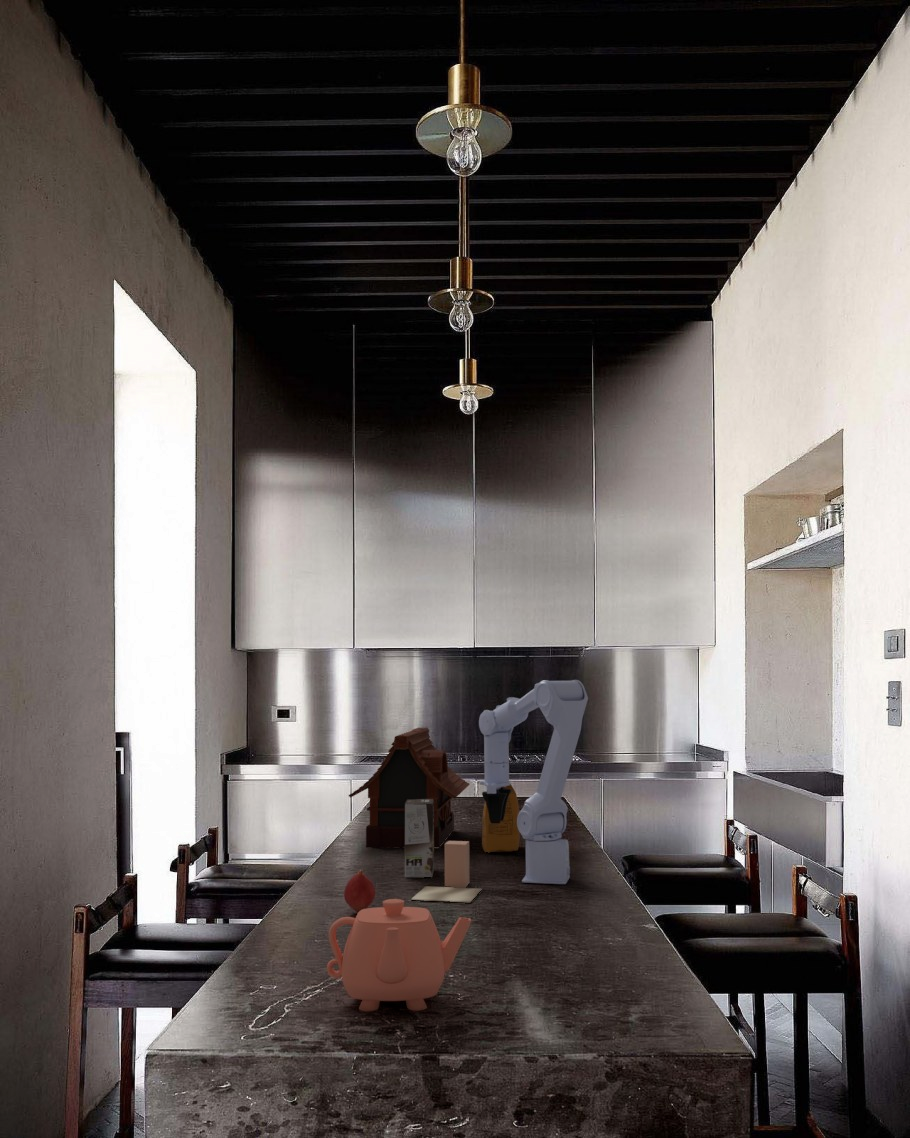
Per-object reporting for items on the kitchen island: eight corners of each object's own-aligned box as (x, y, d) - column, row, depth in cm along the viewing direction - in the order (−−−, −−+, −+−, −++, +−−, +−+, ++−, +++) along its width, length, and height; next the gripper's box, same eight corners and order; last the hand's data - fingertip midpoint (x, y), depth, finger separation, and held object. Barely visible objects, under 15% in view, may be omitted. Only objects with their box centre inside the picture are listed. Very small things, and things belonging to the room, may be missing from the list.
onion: (338, 914, 190) (338, 871, 191) (355, 908, 195) (355, 865, 196) (364, 918, 187) (364, 873, 188) (380, 911, 192) (380, 868, 193)
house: (455, 851, 257) (455, 735, 259) (346, 848, 260) (346, 734, 263) (471, 829, 291) (471, 727, 294) (375, 827, 295) (375, 727, 298)
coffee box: (433, 878, 223) (432, 803, 225) (403, 878, 223) (403, 803, 225) (434, 869, 232) (434, 798, 234) (406, 869, 232) (406, 798, 234)
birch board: (481, 890, 210) (481, 888, 210) (470, 903, 198) (470, 901, 198) (425, 888, 213) (425, 886, 213) (411, 901, 201) (411, 898, 201)
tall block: (469, 884, 216) (469, 841, 217) (465, 888, 212) (465, 844, 213) (448, 883, 217) (448, 840, 218) (444, 887, 213) (444, 843, 214)
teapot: (476, 997, 142) (475, 898, 143) (393, 1031, 129) (393, 922, 130) (392, 975, 152) (391, 883, 153) (307, 1005, 139) (308, 904, 140)
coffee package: (522, 846, 263) (521, 760, 265) (520, 854, 250) (519, 764, 253) (484, 845, 264) (483, 759, 266) (479, 854, 251) (479, 764, 254)
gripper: (485, 759, 244) (485, 816, 243) (473, 765, 230) (474, 826, 229) (514, 759, 243) (515, 817, 241) (504, 765, 229) (505, 826, 227)
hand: (497, 821), depth 235 cm, fingers open, 4 cm apart
